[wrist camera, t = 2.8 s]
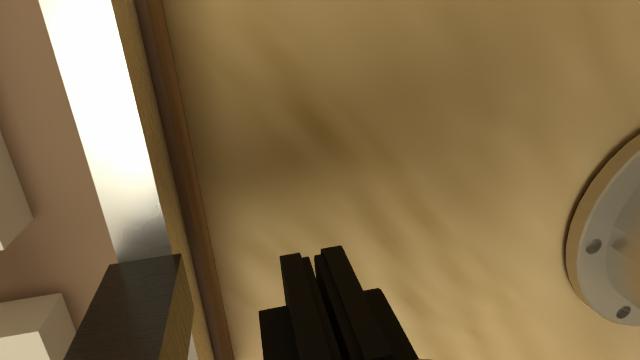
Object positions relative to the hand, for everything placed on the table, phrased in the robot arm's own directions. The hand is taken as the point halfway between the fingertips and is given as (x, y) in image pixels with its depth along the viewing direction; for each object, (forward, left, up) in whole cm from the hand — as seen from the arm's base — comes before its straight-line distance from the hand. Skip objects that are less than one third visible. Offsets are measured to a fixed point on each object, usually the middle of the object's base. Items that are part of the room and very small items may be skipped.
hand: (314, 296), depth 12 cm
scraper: (+5, 0, -4) cm, 6 cm away
